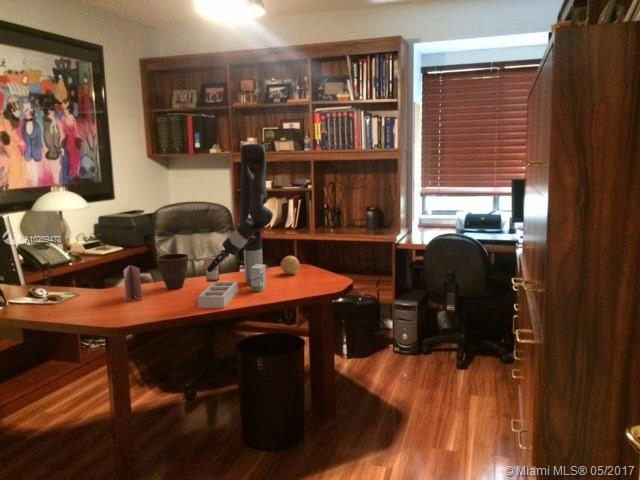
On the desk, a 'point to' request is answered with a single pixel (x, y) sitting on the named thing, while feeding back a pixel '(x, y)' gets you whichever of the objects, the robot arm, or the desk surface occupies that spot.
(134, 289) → the greeting card
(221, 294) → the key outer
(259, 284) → the ink box
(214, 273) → the tall wooden block
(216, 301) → the grey compartment tray
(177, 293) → the desk surface
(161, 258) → the plant pot
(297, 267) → the stress ball
